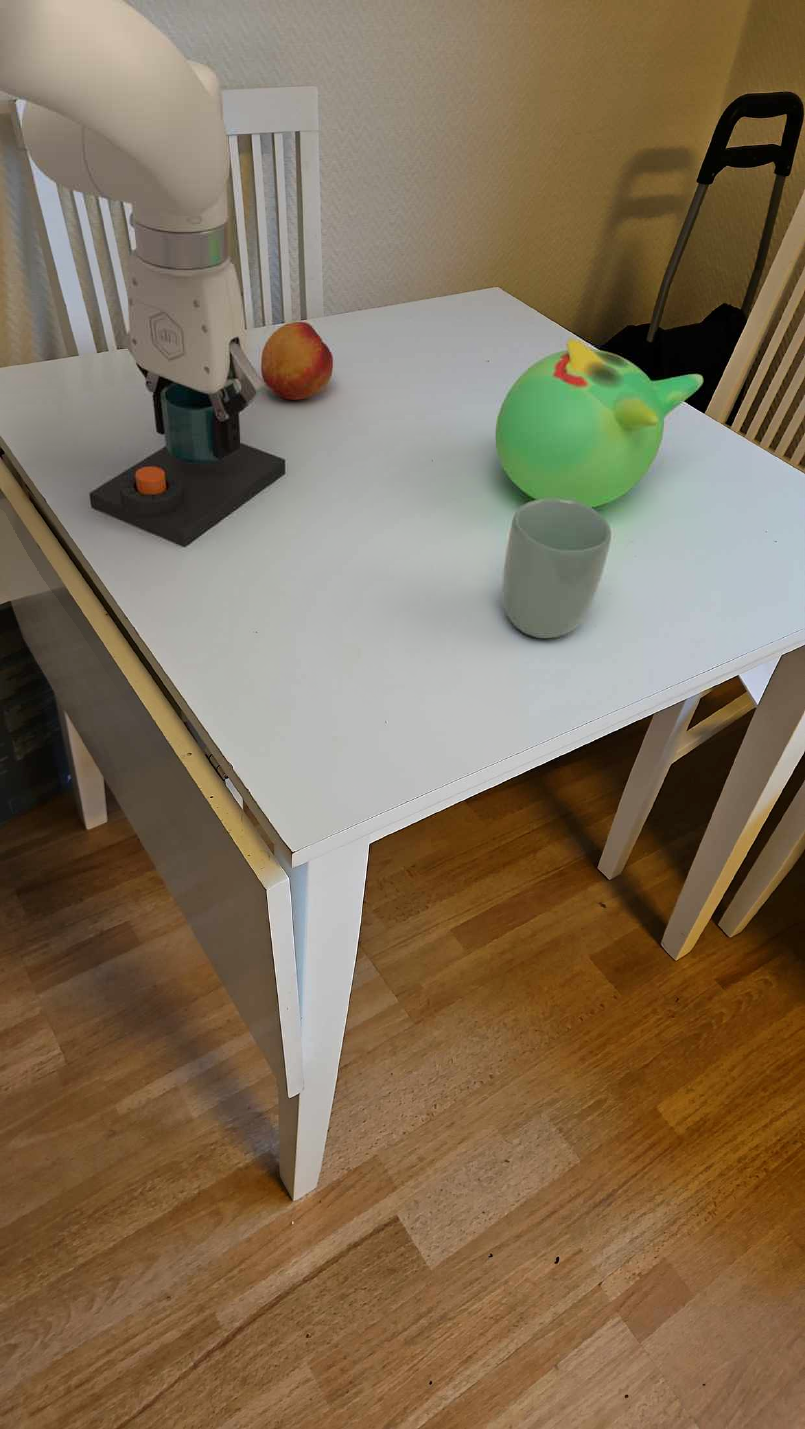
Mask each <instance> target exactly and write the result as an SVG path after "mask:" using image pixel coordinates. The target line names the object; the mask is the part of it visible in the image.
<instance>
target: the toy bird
mask: <svg viewBox="0 0 805 1429" xmlns="http://www.w3.org/2000/svg"><path fill="white" fill-rule="evenodd" d="M566 347H567V349H566V350H562V351H558V352H555V353H552V354H549V355H547V356H545V357H543V358H541V359H540V360H538V361H537V362H535V363H534V364H532V365H531V366H530V367H528V368H527V369H525V371H524V372H523V373H522V374H521V375H520V376H519V377H518V378H517V379H516V381H514V383H513V385H512V386H511V388H510V389H509V390H508V392H507V393H506V396H505V398H504V399H503V402H502V403H501V406H500V409H499V411H498V415H497V420H496V423H495V424H496V425H495V447H496V448H495V449H496V452H497V456H498V460H499V462H500V465H501V466H502V468H503V470H504V472H505V473H506V475H507V476H508V477H509V479H510V480H511V481H512V482H513V483H514V484H515V485H516V487H517V488H519V489H520V491H522V492H524V493H525V494H526V495H527V496H529V497H531V498H533V499H534V500H538V499H545V498H563V499H569V500H574V501H577V502H580V503H583V504H585V505H587V506H589V507H591V508H596V507H599V506H603V505H605V504H609V503H610V502H613V501H615V500H616V499H618V498H620V497H622V496H623V495H624V494H626V493H628V491H630V490H631V489H632V488H633V487H634V486H636V484H637V483H639V481H640V480H642V478H643V477H644V476H645V474H646V473H647V472H648V470H649V469H650V467H651V466H652V464H653V462H654V460H655V458H656V456H657V454H658V453H659V449H660V447H661V443H662V440H663V436H664V430H665V418H666V417H667V415H669V414H670V413H671V412H672V411H673V410H675V409H676V408H677V407H679V406H680V405H681V404H682V403H684V402H685V401H686V400H687V399H688V398H690V397H691V396H692V395H694V393H696V392H697V391H698V390H699V389H700V388H701V387H702V385H703V383H704V377H703V375H701V374H699V373H692V374H685V375H679V376H674V377H670V378H665V379H660V380H659V379H658V380H651V379H650V378H649V376H648V375H647V374H646V373H645V372H644V371H643V370H642V369H641V368H640V367H639V366H637V365H636V364H634V363H633V362H631V361H630V360H628V359H627V358H624V357H622V356H620V355H618V354H615V353H613V352H609V351H604V350H600V349H594V348H593V349H592V348H590V347H589V346H587V345H586V344H584V343H583V342H581V341H579V340H577V339H574V338H570V339H568V340H567V342H566Z"/></svg>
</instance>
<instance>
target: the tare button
mask: <svg viewBox="0 0 805 1429" xmlns="http://www.w3.org/2000/svg"><path fill="white" fill-rule="evenodd" d="M135 476H136V484H137V490H138V492H139V493H142V494H149V495H154V494H159V493H162V492H164V491H165V490H166V480H165V473H164V471H163V470H162V469H160V468H158V467H143V468H141V469H139V470H138V471H137V472H136V474H135Z"/></svg>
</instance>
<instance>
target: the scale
mask: <svg viewBox="0 0 805 1429" xmlns="http://www.w3.org/2000/svg"><path fill="white" fill-rule="evenodd" d="M143 467H158V468H160V469H162V470H163V471H164V473H165V480H166V490H165V491H164V492H162V493H159V494H154V495H149V494H142V493H139V492H138V490H137V484H136V476H135V474H136V472H137V471H138V470H139V469H141V468H143ZM285 474H286V459H285V458H282V457H280V456H277V455H275V454H271V453H268V452H266V451H263V450H260V449H258V448H256V447H253V446H250V445H248V444H246V443H242V442H240V447H239V448H238V449H237V450H235V451H234V452H232V453H230V454H229V455H227V456H225V457H224V458H222V459H218V460H215V461H212V462H206V463H192V462H186V461H183V460H180V459H178V458H177V457H175V456H174V455H173V454H171V453H170V452H169V451H168V450H167V449H166V445H165V446H163V447H162V448H160V449H158V450H157V451H155V452H154V453H152V454H151V455H149V456H147V457H145V458H144V459H142V460H140V461H139V462H137V463H135V464H134V465H132V466H130V467H129V468H127V469H126V470H124V471H123V472H121V473H119V474H118V475H116V476H114V477H113V478H111V479H109V480H108V481H106V482H104V483H103V484H102V485H100V486H98V487H97V488H95V489H93V490H92V491H90V492H89V493H88V496H89V500H90V507H91V508H92V509H94V510H96V511H99V512H101V513H104V514H106V515H108V516H111V517H113V518H115V519H117V520H120V521H123V522H125V523H127V524H130V525H132V526H134V527H137V528H139V529H141V530H144V531H145V532H148V533H151V534H153V535H156V536H158V537H160V538H162V539H165V540H167V541H170V542H172V543H175V544H176V545H178V546H182V547H184V548H185V547H188V545H190V544H191V543H192V542H193V541H195V540H196V539H198V538H199V537H201V536H202V535H203V534H205V533H206V532H208V531H209V530H210V529H212V528H213V527H214V526H216V525H217V524H218V523H220V522H221V521H222V520H224V519H225V518H227V517H228V516H229V515H231V514H232V513H233V512H235V511H236V510H238V509H239V508H240V507H242V506H243V505H244V504H246V503H247V502H248V501H250V500H251V499H252V498H253V497H256V495H258V494H259V493H260V492H262V491H263V490H265V489H266V488H267V487H269V486H270V485H271V484H273V483H275V482H276V481H277V480H278V479H280V478H281V477H283V476H284V475H285Z"/></svg>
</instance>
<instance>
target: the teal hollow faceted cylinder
mask: <svg viewBox="0 0 805 1429" xmlns="http://www.w3.org/2000/svg"><path fill="white" fill-rule="evenodd" d="M221 392H222V395H223V397H224V400H225V403H226V402H227V401H228V400H229V397H228V395H227V392H226V389H225V388H224V389H222V390H221ZM160 394H161V404H162V414H163V423H164V433H165V434H164V441H165V446H166V449H167V450H168V451H169V452H170V453H171V454H173V455H174V456H175V457H177V458H178V459H180V460H183V461H186V462H192V463H206V462H212V461H215V460H218V458H215V457H214V455H213V445H212V430H211V419H212V418H214V417H216V414H215V411H214V409H213V406H212V403H211V401H210V398H209V395H208V394H206V393H202V392H199V391H196V390H194V389H191V388H189V387H186V386H184V385H181V384H179V383H176V382H174V383H172V384H170V385H168V386H166V387H165V388H164V389H163V390H162V391H161V393H160Z"/></svg>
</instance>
